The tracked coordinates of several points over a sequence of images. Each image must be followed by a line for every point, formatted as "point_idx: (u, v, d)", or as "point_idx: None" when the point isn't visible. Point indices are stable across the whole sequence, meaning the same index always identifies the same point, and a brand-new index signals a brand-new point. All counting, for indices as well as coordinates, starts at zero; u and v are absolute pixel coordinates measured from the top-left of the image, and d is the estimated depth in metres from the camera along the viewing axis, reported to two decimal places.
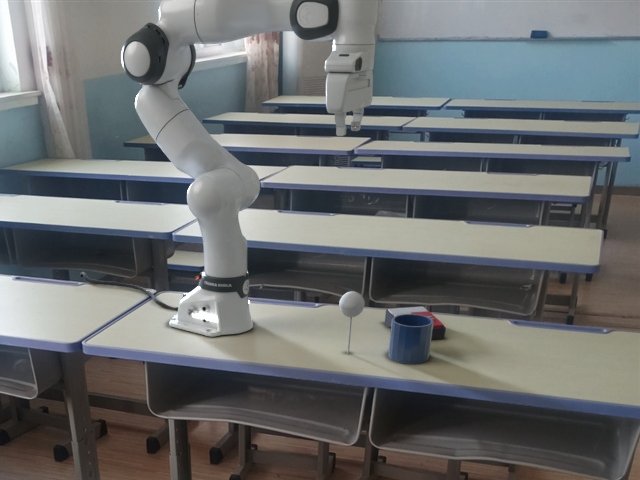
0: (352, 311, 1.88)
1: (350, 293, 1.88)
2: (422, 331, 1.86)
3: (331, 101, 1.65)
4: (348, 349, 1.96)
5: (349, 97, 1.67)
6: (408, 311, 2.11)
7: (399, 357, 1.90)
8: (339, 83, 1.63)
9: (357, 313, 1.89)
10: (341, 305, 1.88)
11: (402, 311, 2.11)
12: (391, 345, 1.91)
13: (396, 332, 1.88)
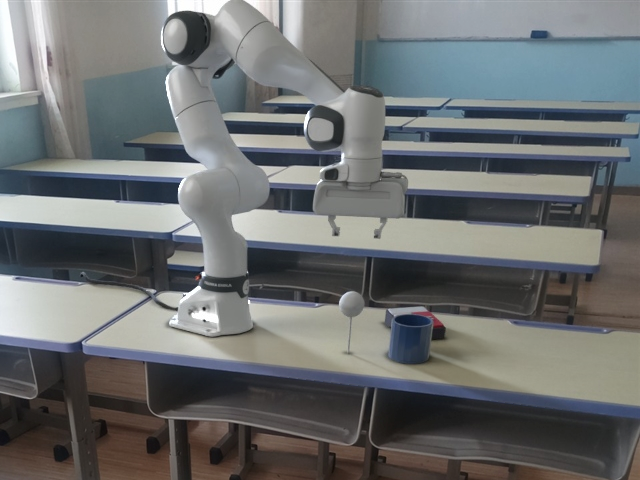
0: (351, 311, 1.88)
1: (350, 293, 1.88)
2: (422, 331, 1.86)
3: None
4: (348, 349, 1.96)
5: (331, 202, 1.77)
6: (408, 311, 2.11)
7: (399, 357, 1.90)
8: None
9: (357, 313, 1.89)
10: (341, 305, 1.88)
11: (402, 311, 2.11)
12: (391, 345, 1.91)
13: (396, 332, 1.88)
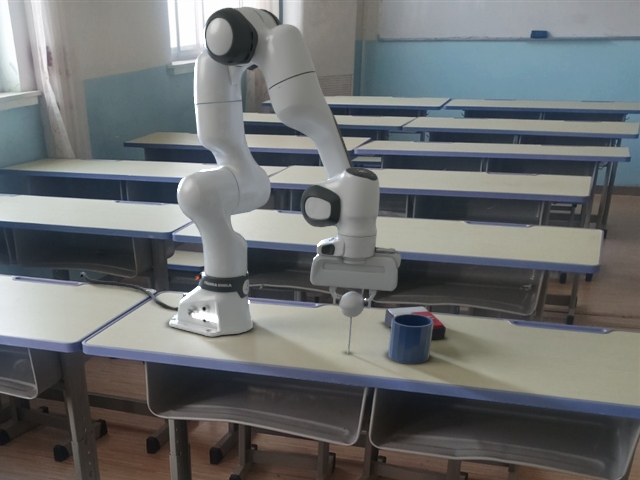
0: (352, 311, 1.88)
1: (350, 293, 1.88)
2: (422, 331, 1.86)
3: None
4: (348, 349, 1.95)
5: (327, 274, 1.86)
6: (408, 311, 2.11)
7: (399, 357, 1.90)
8: None
9: (357, 313, 1.89)
10: (341, 305, 1.88)
11: (402, 311, 2.11)
12: (391, 345, 1.91)
13: (396, 332, 1.88)
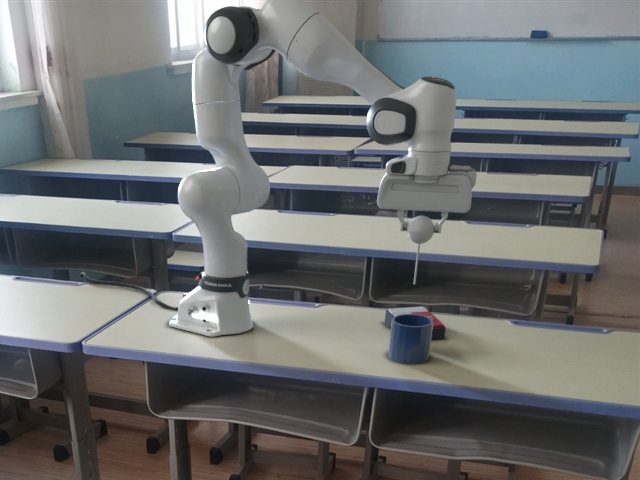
0: (421, 236, 1.76)
1: (420, 217, 1.76)
2: (422, 331, 1.86)
3: None
4: (414, 280, 1.84)
5: (396, 196, 1.74)
6: (408, 311, 2.11)
7: (399, 357, 1.90)
8: None
9: (427, 239, 1.77)
10: (410, 230, 1.77)
11: (402, 311, 2.11)
12: (391, 345, 1.91)
13: (396, 332, 1.88)
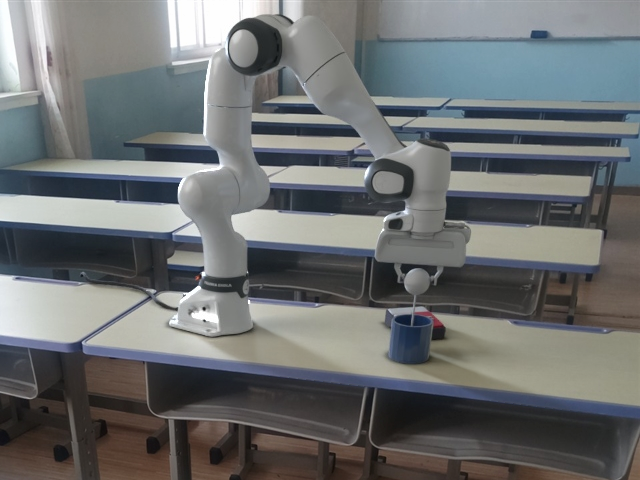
0: (418, 288, 1.82)
1: (416, 270, 1.82)
2: (422, 331, 1.86)
3: None
4: None
5: (393, 250, 1.80)
6: (408, 311, 2.11)
7: (399, 357, 1.90)
8: None
9: (423, 291, 1.83)
10: (406, 282, 1.83)
11: (402, 311, 2.11)
12: (391, 345, 1.91)
13: (396, 332, 1.88)
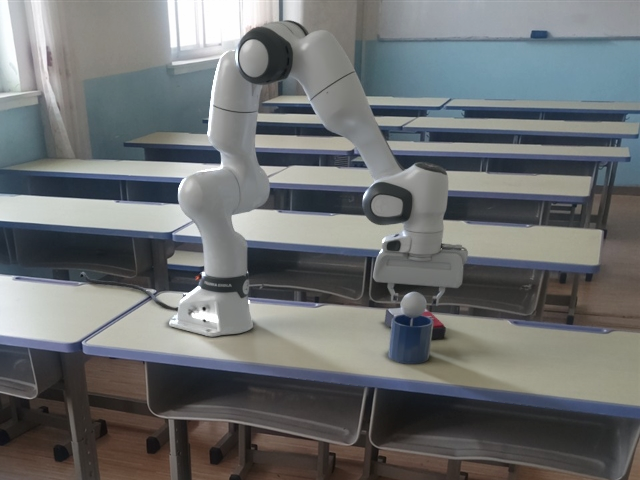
0: (414, 312, 1.85)
1: (412, 294, 1.85)
2: (422, 331, 1.86)
3: None
4: None
5: (391, 271, 1.83)
6: None
7: (399, 357, 1.90)
8: None
9: (419, 314, 1.86)
10: (403, 306, 1.86)
11: None
12: (391, 345, 1.91)
13: (396, 332, 1.88)
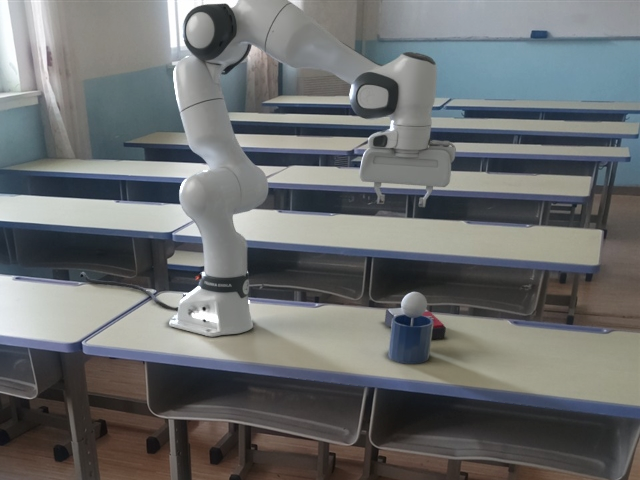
0: (414, 312, 1.85)
1: (413, 294, 1.85)
2: (422, 331, 1.86)
3: None
4: None
5: (378, 169, 1.79)
6: None
7: (399, 357, 1.90)
8: None
9: (420, 314, 1.86)
10: (404, 306, 1.86)
11: (402, 311, 2.11)
12: (391, 345, 1.91)
13: (396, 332, 1.88)
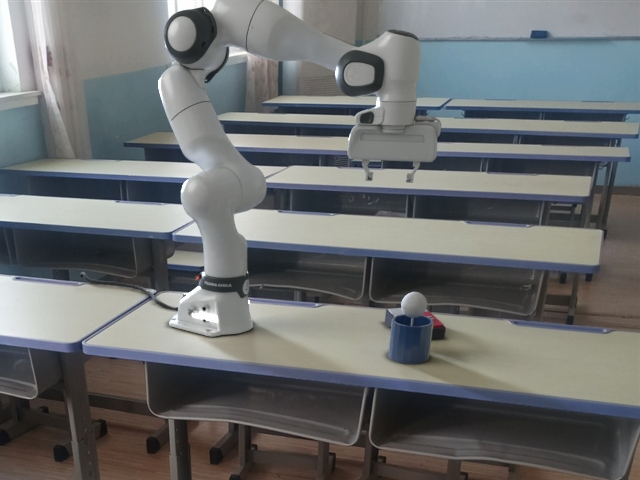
0: (414, 312, 1.85)
1: (413, 294, 1.85)
2: (422, 331, 1.86)
3: None
4: None
5: (365, 146, 1.83)
6: None
7: (399, 357, 1.90)
8: None
9: (420, 314, 1.86)
10: (404, 306, 1.86)
11: (402, 311, 2.11)
12: (391, 345, 1.91)
13: (396, 332, 1.88)
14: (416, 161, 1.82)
